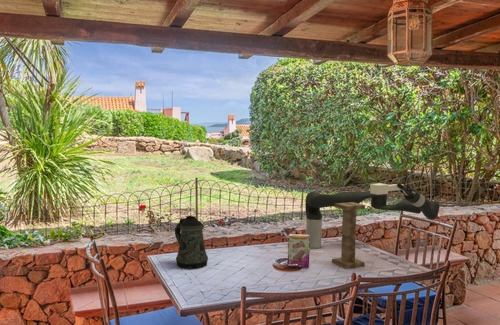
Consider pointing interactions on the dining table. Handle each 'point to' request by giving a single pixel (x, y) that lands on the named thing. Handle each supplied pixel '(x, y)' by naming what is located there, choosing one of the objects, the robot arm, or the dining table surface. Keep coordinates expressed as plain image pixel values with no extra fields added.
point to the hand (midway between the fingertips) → (395, 184)
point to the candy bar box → (299, 249)
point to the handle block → (383, 188)
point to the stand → (348, 236)
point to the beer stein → (190, 244)
